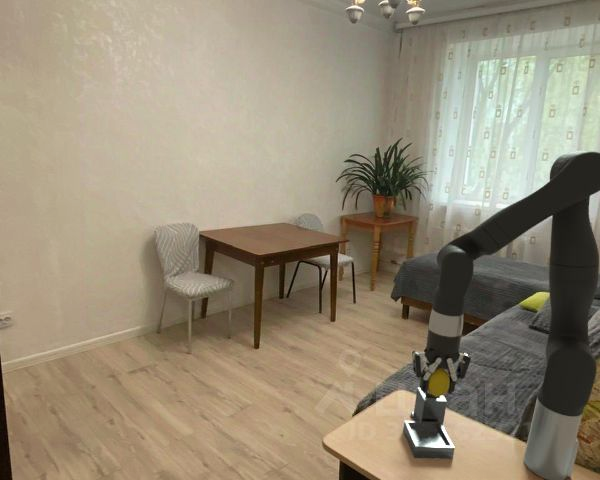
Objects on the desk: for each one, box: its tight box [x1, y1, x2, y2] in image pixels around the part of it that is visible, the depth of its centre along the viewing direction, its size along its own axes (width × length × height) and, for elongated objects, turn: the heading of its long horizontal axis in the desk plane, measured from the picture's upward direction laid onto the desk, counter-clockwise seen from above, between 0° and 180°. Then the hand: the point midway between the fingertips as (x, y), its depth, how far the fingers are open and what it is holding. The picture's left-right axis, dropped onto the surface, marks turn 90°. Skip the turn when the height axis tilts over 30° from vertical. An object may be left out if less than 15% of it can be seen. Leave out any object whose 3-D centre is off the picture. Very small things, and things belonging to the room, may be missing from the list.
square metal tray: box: [402, 420, 456, 460], centre depth 107 cm, size 10×10×3 cm
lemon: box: [428, 368, 450, 397], centre depth 103 cm, size 6×6×8 cm
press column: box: [410, 386, 448, 431], centre depth 115 cm, size 7×7×9 cm
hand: (436, 391), depth 104 cm, fingers closed on lemon, 5 cm apart
